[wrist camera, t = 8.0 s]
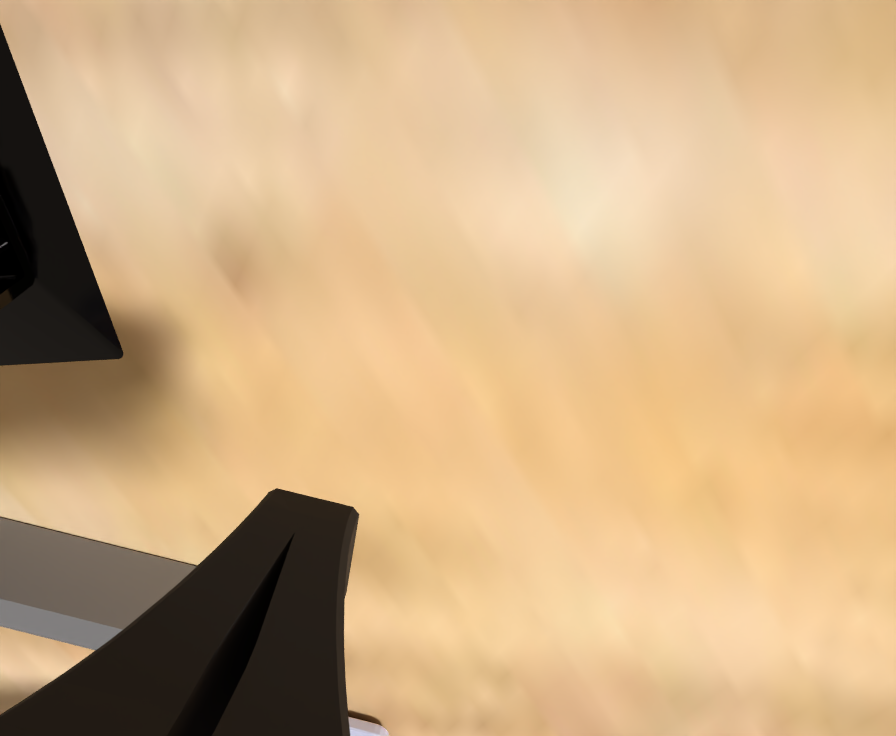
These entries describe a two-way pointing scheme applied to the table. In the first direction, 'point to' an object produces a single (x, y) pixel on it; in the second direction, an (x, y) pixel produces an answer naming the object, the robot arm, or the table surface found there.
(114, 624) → the dock
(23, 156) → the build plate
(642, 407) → the table surface
